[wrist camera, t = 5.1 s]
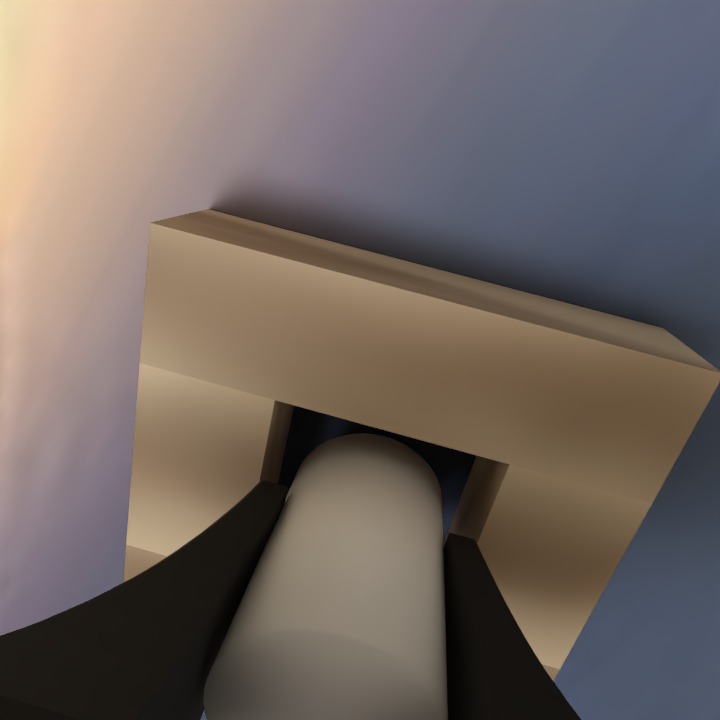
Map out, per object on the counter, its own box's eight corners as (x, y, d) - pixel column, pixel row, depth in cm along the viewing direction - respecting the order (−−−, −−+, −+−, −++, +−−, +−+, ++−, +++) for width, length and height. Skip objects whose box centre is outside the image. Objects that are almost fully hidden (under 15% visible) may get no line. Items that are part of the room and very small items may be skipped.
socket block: (504, 653, 18) (517, 745, 15) (168, 556, 18) (120, 628, 15) (663, 328, 13) (724, 374, 10) (208, 209, 14) (150, 222, 11)
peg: (408, 578, 15) (393, 831, 9) (276, 528, 15) (180, 751, 9) (467, 467, 13) (491, 689, 8) (319, 411, 13) (237, 592, 8)
